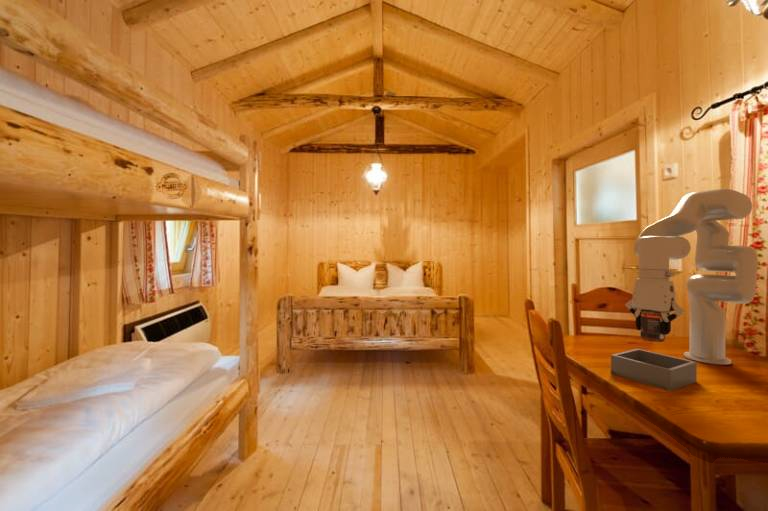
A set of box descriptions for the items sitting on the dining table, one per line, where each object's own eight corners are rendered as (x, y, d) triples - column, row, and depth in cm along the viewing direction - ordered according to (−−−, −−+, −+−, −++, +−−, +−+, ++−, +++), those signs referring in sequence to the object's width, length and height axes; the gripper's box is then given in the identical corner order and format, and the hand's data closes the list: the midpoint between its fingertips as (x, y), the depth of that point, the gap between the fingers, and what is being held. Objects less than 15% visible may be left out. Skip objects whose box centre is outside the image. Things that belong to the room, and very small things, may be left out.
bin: (637, 365, 115) (637, 348, 115) (696, 381, 101) (696, 362, 101) (610, 373, 108) (611, 354, 108) (670, 391, 94) (671, 370, 94)
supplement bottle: (669, 343, 101) (669, 306, 101) (647, 341, 102) (647, 305, 102) (657, 338, 107) (657, 303, 107) (636, 337, 108) (637, 302, 108)
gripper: (693, 276, 98) (693, 336, 99) (629, 273, 114) (628, 325, 114) (681, 277, 95) (681, 339, 95) (617, 273, 110) (616, 327, 111)
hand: (652, 331), depth 105 cm, fingers closed on supplement bottle, 6 cm apart
